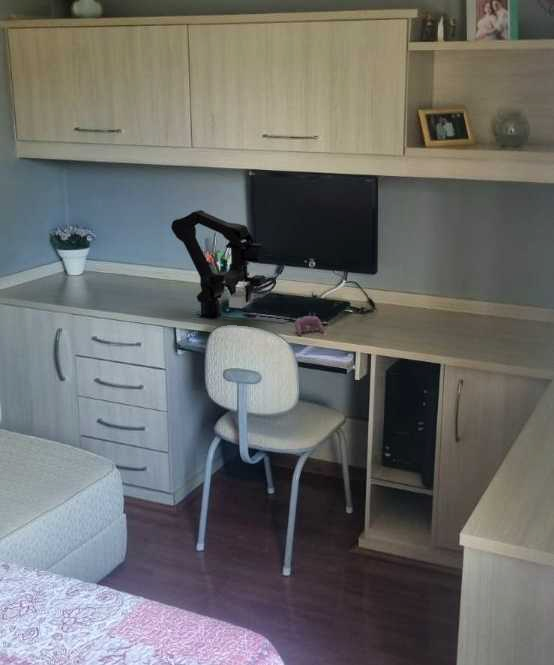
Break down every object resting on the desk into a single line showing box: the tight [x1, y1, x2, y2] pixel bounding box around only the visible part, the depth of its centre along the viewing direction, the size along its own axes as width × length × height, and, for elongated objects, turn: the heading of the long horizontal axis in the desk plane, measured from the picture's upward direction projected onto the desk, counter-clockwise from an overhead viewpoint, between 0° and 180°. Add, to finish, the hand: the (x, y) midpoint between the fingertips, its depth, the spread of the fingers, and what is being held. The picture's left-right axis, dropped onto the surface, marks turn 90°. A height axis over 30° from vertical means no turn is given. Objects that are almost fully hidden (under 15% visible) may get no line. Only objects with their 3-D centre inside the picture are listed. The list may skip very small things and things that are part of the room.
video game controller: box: [293, 315, 325, 337], centre depth 311 cm, size 10×5×7 cm, turn 108°
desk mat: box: [252, 315, 290, 325], centre depth 329 cm, size 13×11×1 cm
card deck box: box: [228, 289, 253, 309], centre depth 324 cm, size 5×9×4 cm, turn 156°
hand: (240, 301), depth 324 cm, fingers closed on card deck box, 5 cm apart
